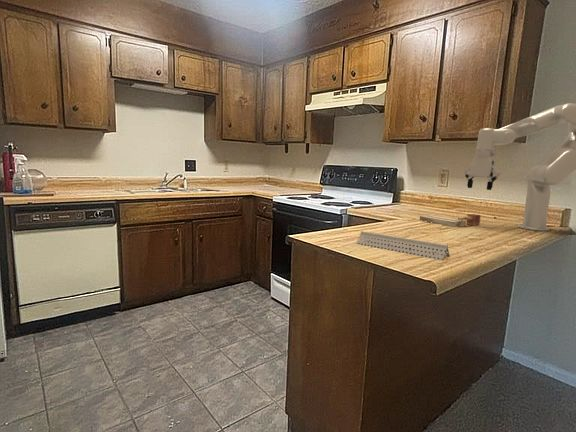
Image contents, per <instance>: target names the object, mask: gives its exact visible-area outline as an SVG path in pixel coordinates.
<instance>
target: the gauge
mask: <svg viewBox="0 0 576 432" xmlns="http://www.w3.org/2000/svg"><path fill="white" fill-rule="evenodd" d="M457 219H458V220H461V221H463V220H464V221H466V225H465V226H471V227H479V226H480V224H481V214H476V213H470V214H469V213H468V214H467V215H466V216H460V217H457Z"/></svg>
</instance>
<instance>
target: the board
mask: <svg viewBox="0 0 576 432" xmlns="http://www.w3.org/2000/svg"><path fill="white" fill-rule="evenodd" d="M420 220H422V221H421V222H424V221H427V222H426V223H429V222H432V223H431V224H435V223H436V224H435V225H440V224H441V225H440V226H445V225H446V226H447V227H451V228H455V227H464V226H467V225H466V223H467V220H463V221H461V220H458V218H452V217H447V216H446V217H445V216H440V215H439V216H438V215H432V214H430V215H421V216H419V221H420ZM446 226H445V227H446Z"/></svg>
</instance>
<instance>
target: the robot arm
mask: <svg viewBox="0 0 576 432" xmlns="http://www.w3.org/2000/svg"><path fill="white" fill-rule="evenodd" d="M564 123H568V124H567V129H568V135H567V137H566V138H565V139H564V141H563V142H561V143H560V144H559V145H558V146H557V147H556V148H554V150H553V151H551V152H550V154H548V156H547V159H546V163H547V164H537V165H534V166H532V167H531V168H529V170H528V172H527V174H526V181H527V182H526V183H527V184H526V185H527V186H526V187H527V188H526V189H527V190H526V198H525V203H524V211H523V212H524V213H523V219H522V220H523V221H522V224H521V223H520V224H519V225H518V228H520V229H523V230H528V231H529V230H530V231H540V232H541V231H543V232H548V231H550V227H549V226H547V225H548V223H549V221H548V220H547V219H548V213H549V205H550V198H551V187H550V186H555V185H558V184H560V183H562V182H563V181H564V180H566V179H567V178H568V177H569V176H571V174H572V173H574V172H575V171H576V103H575V102H574V103H573V102H568V103H564V104H560V105H556V106H553V107H550V108H548V109H545V110H543V111H541V112H539V113H535V114H534V115H531V116H528V117H526V118H523V119H520V120H518V121H516V122H514V123H510V124H508V125H506V126H503V127H501V128H496V129H495V128H492V127H491V128H489V127H486V128H485V127H483V128H480V129H479V131H478V136H477V143H476V151H475V156H473V159H472V161H471V165H470V168H468V169H466V170H464V171H463V173H464V177H465V178H466V179H467V184H466V185H467V188H468V189H472V188H473V183H474V180H473V179H474V178H476V177H477V178H486V179H487V180H488V181H487V184H486V190H487V191H491V190H492V189H493V186H494V185H493V184H494V182H495V181H496V180H497V179H498V178H499V177H500V175H501V173H500V172H499V171H497V170H495V169H496V168H495V167H496V164H495V163H496V162H495V161H496V160H495V157H493V156H496V154H497V152H496V151H495V146H505V145H509V144H512V143H513V142H514V141H515V140H516V139H518V138H522V137H525V136H531V135H534V134H538V133H541V132H543V131H545V130H547V129H550V128H553V127H555V126H557V125H558V126H559V125H560V124H564Z"/></svg>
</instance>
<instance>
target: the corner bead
mask: <svg viewBox="0 0 576 432" xmlns="http://www.w3.org/2000/svg"><path fill="white" fill-rule="evenodd" d="M368 241H369V242H368ZM358 244H360V245H359V246H363V245H365V247H368V246H370V247H369V248H373V247H374V248H375V249H380V250H384V249H385V250H386V251H389V250H390V251H389V252H394V251H396V252H395V253H400V252H401V254H404V255H405V254H406V255H411V256H415V257H420V258H426V259H432V260H435V261H442V262H443V260H444V258H445V256H446V257H450V256H451V255H450V251H449V246H448V244H443V243H437V242H431V241H425V240H418V239H412V238H405V237H401V236H394V235H389V234H388V235H387V234H381V233H374V232H368V231H363V230H361V231H360V234H359V236H358V239H357V241H356V243H355V245H358ZM396 246H397V247H396ZM385 250H384V251H385Z"/></svg>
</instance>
